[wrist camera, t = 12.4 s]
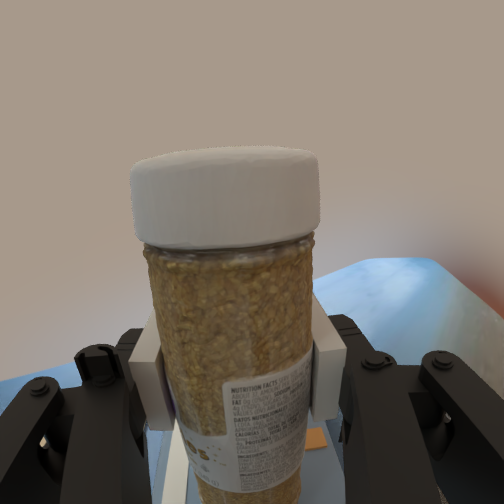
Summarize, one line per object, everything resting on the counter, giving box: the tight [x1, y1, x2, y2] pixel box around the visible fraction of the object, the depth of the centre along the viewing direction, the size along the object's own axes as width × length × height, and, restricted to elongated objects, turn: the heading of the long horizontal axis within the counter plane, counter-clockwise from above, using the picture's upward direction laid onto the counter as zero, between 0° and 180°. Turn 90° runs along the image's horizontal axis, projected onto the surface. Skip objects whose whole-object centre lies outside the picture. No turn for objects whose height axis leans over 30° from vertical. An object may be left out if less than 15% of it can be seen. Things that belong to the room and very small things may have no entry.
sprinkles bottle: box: [130, 146, 320, 504], centre depth 9 cm, size 5×5×13 cm
